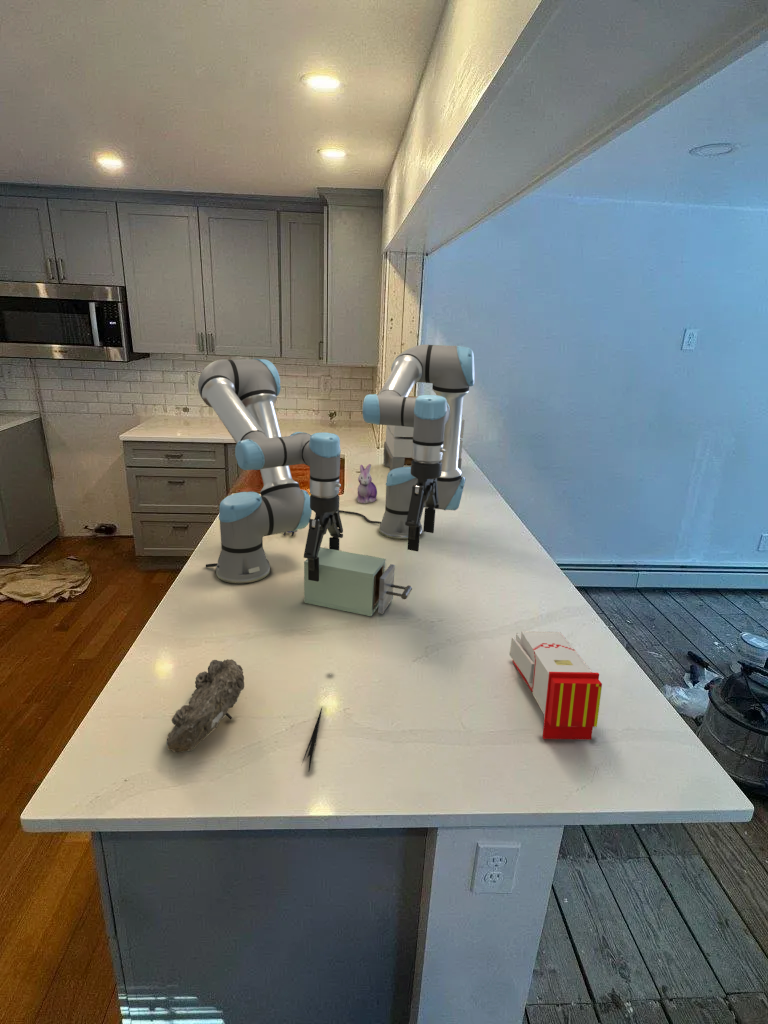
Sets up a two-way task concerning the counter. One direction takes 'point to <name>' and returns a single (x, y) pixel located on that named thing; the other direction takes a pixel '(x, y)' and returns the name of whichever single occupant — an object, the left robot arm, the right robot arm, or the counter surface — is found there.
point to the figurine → (366, 486)
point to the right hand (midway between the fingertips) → (421, 540)
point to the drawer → (386, 588)
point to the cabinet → (343, 581)
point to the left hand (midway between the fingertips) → (324, 569)
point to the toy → (558, 683)
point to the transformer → (405, 446)
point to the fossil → (206, 705)
